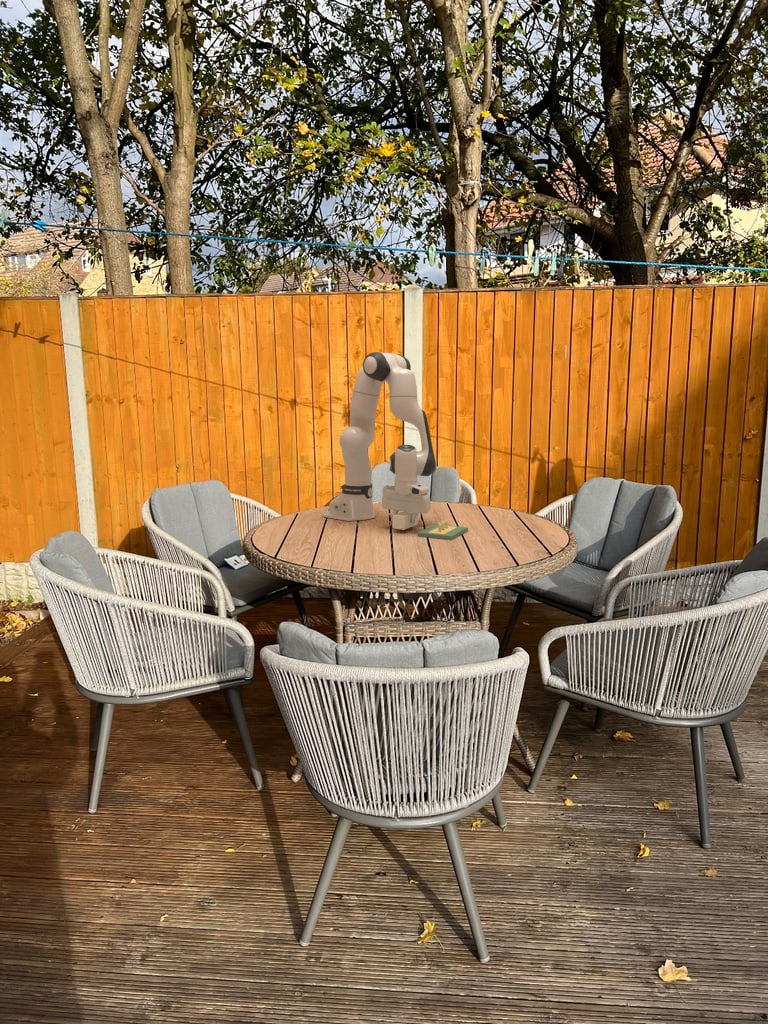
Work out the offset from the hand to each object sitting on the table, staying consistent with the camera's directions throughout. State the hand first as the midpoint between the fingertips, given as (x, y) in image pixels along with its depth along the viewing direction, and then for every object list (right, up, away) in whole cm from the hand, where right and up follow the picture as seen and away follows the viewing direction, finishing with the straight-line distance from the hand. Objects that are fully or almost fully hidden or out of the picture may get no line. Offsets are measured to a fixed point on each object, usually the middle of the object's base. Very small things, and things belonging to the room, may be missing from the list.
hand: (405, 522), depth 298 cm
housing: (0, -2, 0) cm, 2 cm away
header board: (+14, -4, -6) cm, 16 cm away
